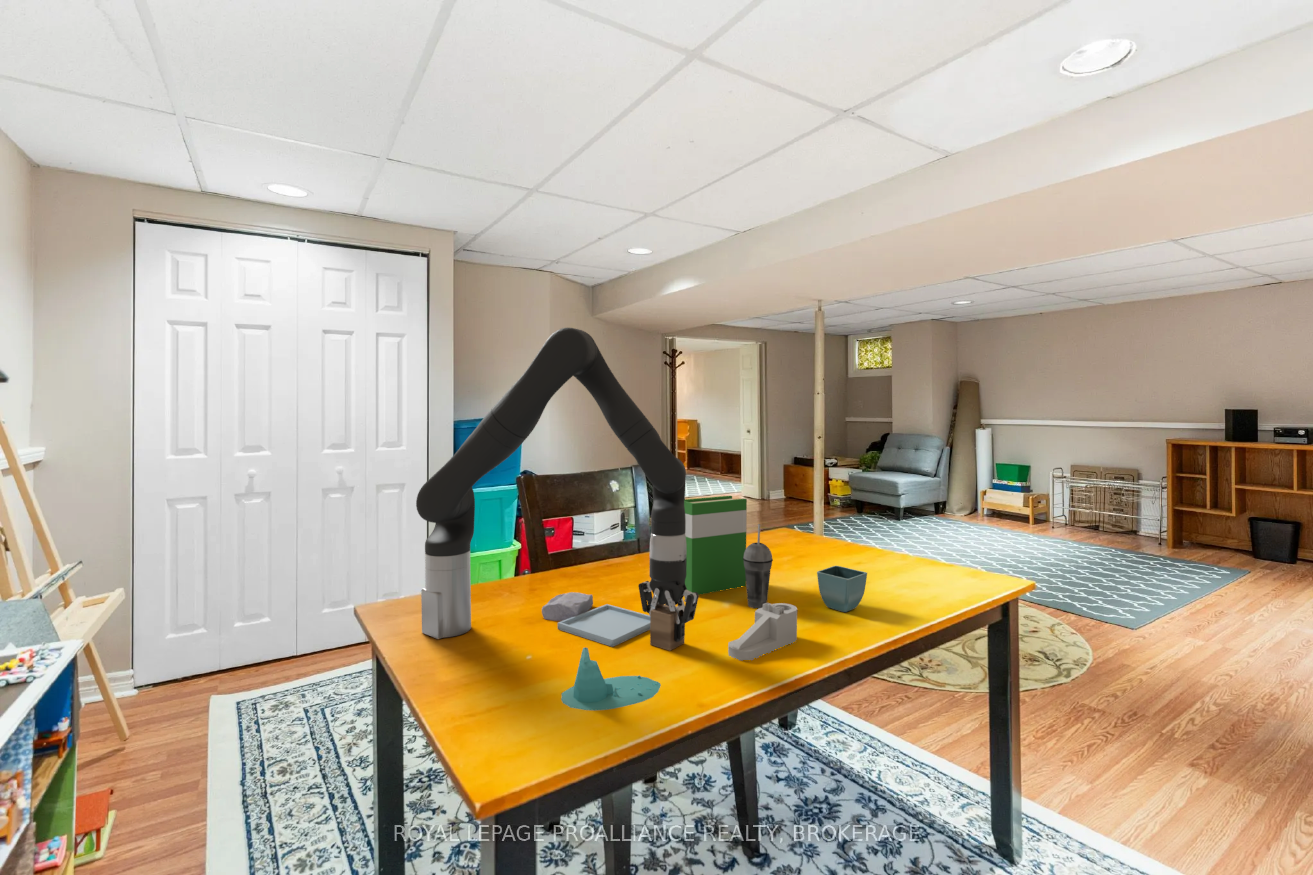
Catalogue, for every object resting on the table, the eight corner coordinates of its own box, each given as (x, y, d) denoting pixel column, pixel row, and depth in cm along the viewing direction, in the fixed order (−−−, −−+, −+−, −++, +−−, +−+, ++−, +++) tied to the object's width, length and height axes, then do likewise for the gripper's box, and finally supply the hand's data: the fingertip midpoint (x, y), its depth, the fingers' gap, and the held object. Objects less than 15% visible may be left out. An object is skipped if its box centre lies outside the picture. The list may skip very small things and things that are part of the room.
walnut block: (670, 650, 118) (670, 615, 117) (650, 644, 121) (650, 610, 120) (684, 642, 122) (684, 609, 121) (664, 637, 125) (665, 604, 124)
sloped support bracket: (723, 654, 117) (723, 614, 116) (780, 632, 128) (780, 596, 128) (745, 663, 112) (745, 622, 112) (802, 640, 124) (802, 602, 124)
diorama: (681, 699, 99) (681, 648, 98) (563, 722, 91) (563, 668, 91) (654, 670, 110) (654, 624, 110) (547, 688, 102) (546, 639, 102)
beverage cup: (739, 608, 144) (739, 526, 143) (746, 599, 150) (747, 521, 149) (769, 612, 141) (770, 528, 140) (774, 603, 148) (775, 523, 147)
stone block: (539, 627, 135) (580, 622, 133) (535, 606, 136) (576, 601, 134) (559, 612, 147) (596, 607, 145) (555, 593, 147) (593, 588, 145)
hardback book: (729, 579, 168) (730, 495, 167) (745, 586, 162) (746, 498, 161) (676, 588, 159) (677, 500, 158) (691, 596, 153) (692, 503, 152)
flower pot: (848, 617, 138) (848, 579, 137) (815, 607, 144) (815, 571, 144) (867, 609, 144) (868, 572, 143) (835, 600, 150) (835, 565, 150)
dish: (612, 646, 120) (612, 640, 120) (557, 629, 129) (557, 622, 129) (660, 624, 132) (660, 618, 132) (606, 609, 142) (606, 604, 142)
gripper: (629, 553, 122) (628, 634, 122) (686, 564, 113) (685, 651, 114) (651, 546, 128) (651, 624, 128) (707, 556, 119) (707, 640, 120)
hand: (667, 636), depth 121 cm, fingers closed on walnut block, 5 cm apart
